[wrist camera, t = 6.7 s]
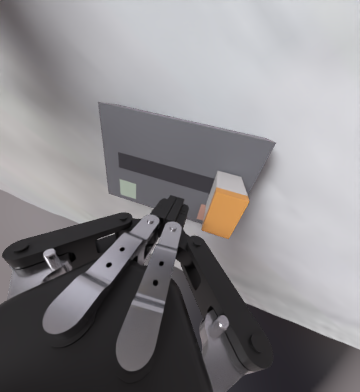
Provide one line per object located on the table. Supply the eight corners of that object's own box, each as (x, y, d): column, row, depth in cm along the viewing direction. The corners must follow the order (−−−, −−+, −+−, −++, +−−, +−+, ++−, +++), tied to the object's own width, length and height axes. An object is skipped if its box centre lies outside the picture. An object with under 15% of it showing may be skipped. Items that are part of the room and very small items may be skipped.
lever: (206, 202, 20) (201, 230, 15) (217, 170, 17) (215, 191, 12) (226, 208, 20) (228, 239, 15) (241, 176, 17) (249, 201, 12)
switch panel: (122, 184, 28) (108, 193, 25) (118, 104, 21) (97, 102, 17) (227, 217, 25) (228, 232, 22) (265, 138, 18) (276, 142, 15)
